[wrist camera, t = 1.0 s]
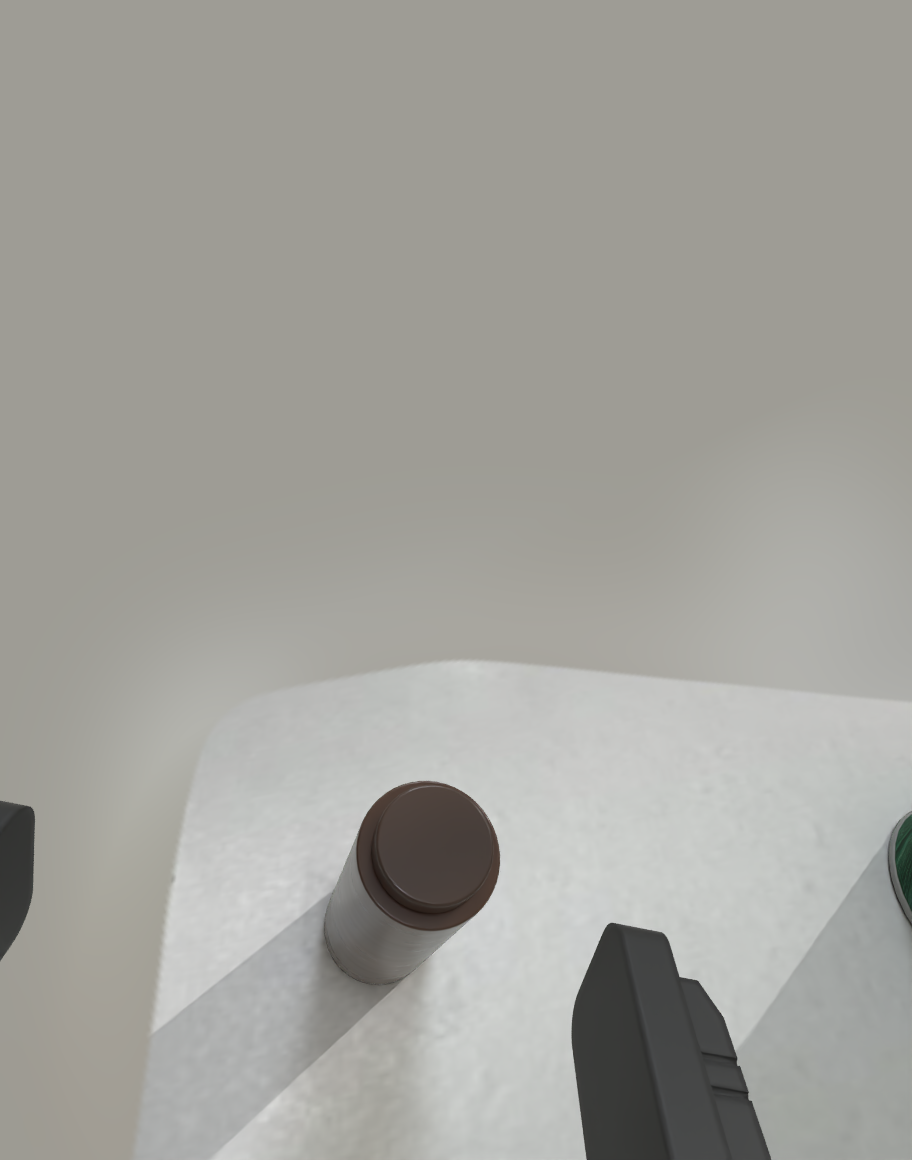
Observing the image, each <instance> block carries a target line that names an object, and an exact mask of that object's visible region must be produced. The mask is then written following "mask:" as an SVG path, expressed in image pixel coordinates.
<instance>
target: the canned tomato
mask: <svg viewBox="0 0 912 1160" xmlns="http://www.w3.org/2000/svg"><path fill="white" fill-rule="evenodd" d="M889 865H890V872H891V878H892V881H893V885H894V888H895V891H896V894H897V897H898V899H899V901H900V903H901V905H902V908H903V910H904V912H905V914H906V916H907V917H908V919H909V920H910V922H911V924H912V811H911V812H909V813H908V814H907V815H906V816H904V817H903V818H902V819H901V820H900V821H899V823H898V824H897V826H896V828H895V829H894V831H893V834H892V837H891V841H890V845H889Z"/></svg>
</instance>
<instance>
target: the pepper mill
mask: <svg viewBox="0 0 912 1160" xmlns="http://www.w3.org/2000/svg"><path fill="white" fill-rule="evenodd" d="M499 868H500V851H499V844H498V840H497V836H496V833H495V831H494V828H493V826H492V824H491V822H490V820H489V818H488V817H487V815H486V814H485V812H484V811H483V810H482V808H481V807H480V806H479V805H478V804H477V803H476V802H475V801H474V800H473V799H472V798H471V797H469V796H468V795H466V794H465V793H464V792H462V791H460V790H458V789H456V788H455V787H452V786H449V785H447V784H443V783H439V782H433V781H417V782H410V783H407V784H403V785H400V786H398V787H396V788H394V789H392V790H390V791H389V792H387V793H386V794H384V795H383V796H382V797H381V798H379V799H378V800H377V801H376V802H375V803H374V804H373V806H372V807H371V808H370V810H369V811H368V812H367V814H366V816H365V818H364V820H363V822H362V824H361V827H360V829H359V831H358V834H357V836H356V839H355V841H354V844H353V846H352V848H351V851H350V853H349V856H348V858H347V861H346V863H345V865H344V868H343V870H342V873H341V875H340V878H339V880H338V882H337V885H336V887H335V890H334V892H333V894H332V897H331V899H330V902H329V904H328V907H327V911H326V915H325V938H326V942H327V946H328V948H329V951H330V953H331V955H332V957H333V959H334V960H335V962H336V963H337V964H338V966H339V967H340V968H341V969H342V970H343V971H344V972H345V973H347V974H348V975H349V976H351V977H353V978H354V979H356V980H358V981H361V982H364V983H368V984H377V985H379V984H388V983H392V982H395V981H398V980H400V979H402V978H404V977H405V976H407V975H408V974H410V973H411V972H412V971H413V970H415V969H416V968H417V967H418V966H419V965H420V964H421V963H422V962H423V961H425V960H426V959H427V958H428V957H429V956H430V955H431V954H432V953H434V952H435V951H436V950H437V949H438V948H439V947H440V946H441V945H442V944H444V943H445V942H446V941H447V940H448V939H449V938H450V937H451V936H453V935H454V934H455V933H456V932H457V931H458V930H459V929H460V928H461V927H463V926H464V925H465V924H466V923H467V922H468V921H469V920H470V919H472V918H473V917H474V916H475V915H476V914H477V913H478V912H479V911H480V910H481V909H482V908H483V907H484V905H485V904H486V903H487V901H488V900H489V898H490V896H491V894H492V893H493V890H494V888H495V885H496V883H497V879H498V875H499Z"/></svg>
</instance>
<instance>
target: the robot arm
mask: <svg viewBox="0 0 912 1160" xmlns="http://www.w3.org/2000/svg"><path fill="white" fill-rule="evenodd" d="M34 827H35V816H34V811H33V809H32V808H31V807H29V806H24V805H18V804H14V803H9V802H3V801H0V960H1V959H2V958H3V956H4V955H5V953H6V952H7V950H8V949H9V947H10V946H11V945H12V943H13V941H14V940H15V938H16V936H17V935H18V933H19V931H20V929H21V927H22V925H23V923H24V920H25V918H26V915H27V913H28V909H29V906H30V903H31V898H32V893H33V866H34V865H33V864H34V863H33V862H34V829H35V828H34ZM572 1049H573V1057H574V1064H575V1072H576V1080H577V1088H578V1095H579V1103H580V1111H581V1119H582V1127H583V1134H584V1142H585V1150H586V1158H587V1160H771V1157H770V1154H769V1151H768V1148H767V1145H766V1142H765V1139H764V1136H763V1133H762V1130H761V1127H760V1125H759V1122H758V1119H757V1116H756V1113H755V1110H754V1107H753V1104H752V1101H749V1099H748V1093H749V1092H748V1089H747V1086H746V1083H745V1080H744V1077H743V1074H742V1071H741V1068H740V1066H737V1056H736V1053H735V1050H734V1047H733V1044H732V1041H731V1038H730V1035H729V1032H728V1029H727V1026H726V1023H725V1020H724V1018H723V1016H722V1015H721V1013H720V1012H719V1010H718V1009H717V1007H716V1006H715V1005H714V1003H713V1002H712V1000H711V999H710V997H709V996H708V995H707V993H706V992H705V990H704V989H703V987H702V986H701V984H700V983H699V982H698V981H697V980H692V979H686V978H681V977H679V974H678V971H677V967H676V964H675V961H674V957H673V954H672V950H671V947H670V944H669V941H668V939H667V937H666V936H665V935H664V934H663V933H662V932H657V931H652V930H646V929H641V928H636V927H631V926H626V925H621V924H616V923H610V924H608V925H607V927H606V928H605V930H604V932H603V934H602V936H601V939H600V941H599V944H598V946H597V948H596V951H595V953H594V956H593V958H592V960H591V963H590V965H589V968H588V970H587V972H586V975H585V977H584V980H583V982H582V984H581V987H580V989H579V992H578V994H577V997H576V1001H575V1005H574V1010H573V1017H572Z"/></svg>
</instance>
